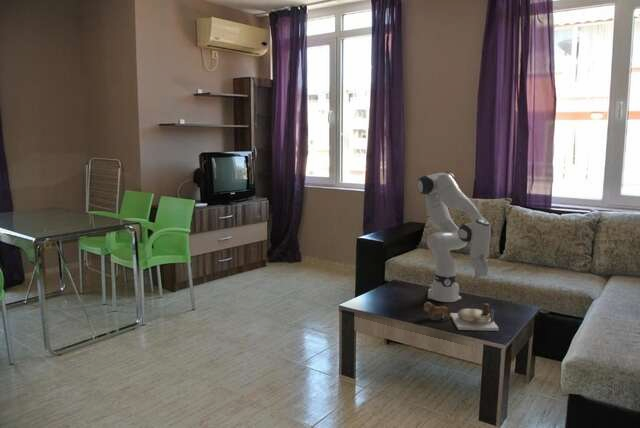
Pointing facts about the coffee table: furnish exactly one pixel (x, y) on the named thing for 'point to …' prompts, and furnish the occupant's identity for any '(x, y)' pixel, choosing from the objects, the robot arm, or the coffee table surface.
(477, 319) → the beige round knobbed piece
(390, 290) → the coffee table surface
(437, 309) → the lion figurine
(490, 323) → the post base
